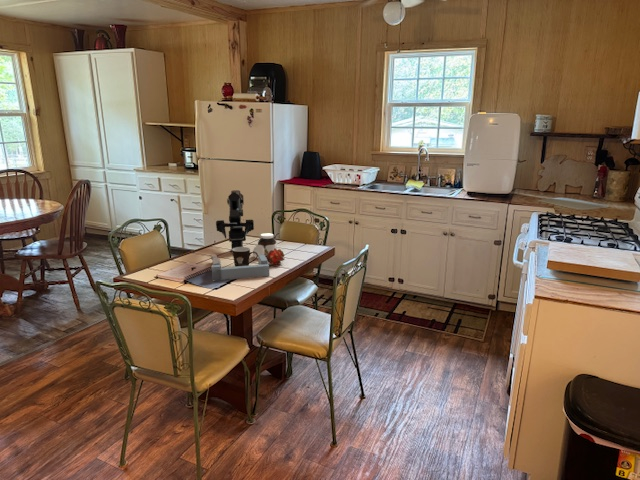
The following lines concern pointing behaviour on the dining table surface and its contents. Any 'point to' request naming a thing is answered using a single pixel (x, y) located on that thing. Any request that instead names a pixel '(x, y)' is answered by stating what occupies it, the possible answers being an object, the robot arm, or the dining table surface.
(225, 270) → the vise
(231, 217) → the robot arm
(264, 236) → the spread jar
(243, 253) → the coffee mug
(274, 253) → the dragon fruit
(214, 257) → the sliding jaw
